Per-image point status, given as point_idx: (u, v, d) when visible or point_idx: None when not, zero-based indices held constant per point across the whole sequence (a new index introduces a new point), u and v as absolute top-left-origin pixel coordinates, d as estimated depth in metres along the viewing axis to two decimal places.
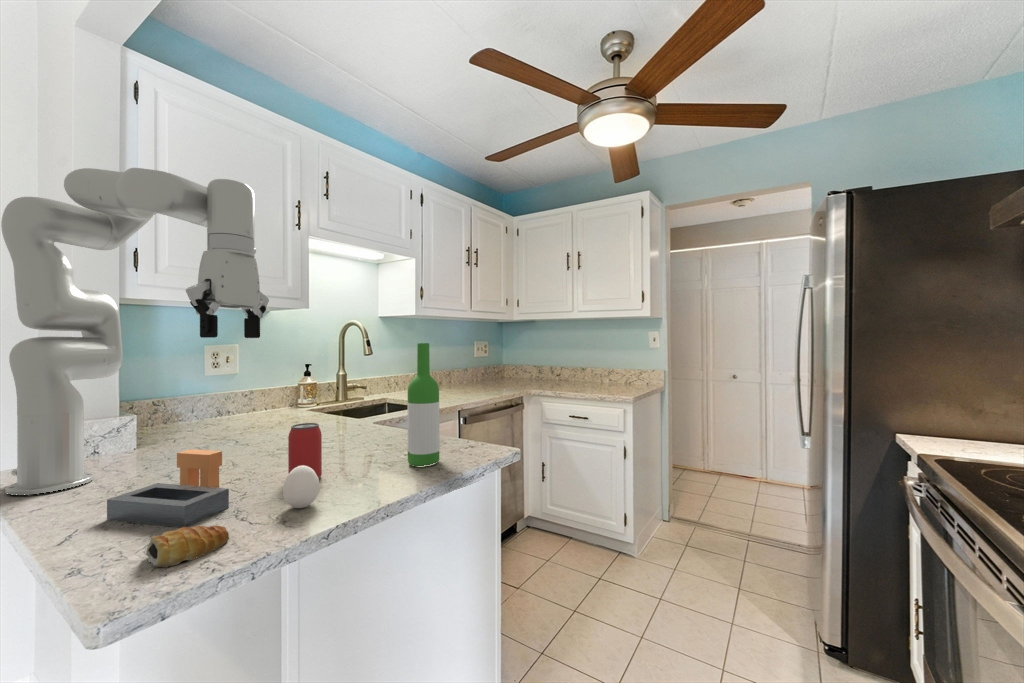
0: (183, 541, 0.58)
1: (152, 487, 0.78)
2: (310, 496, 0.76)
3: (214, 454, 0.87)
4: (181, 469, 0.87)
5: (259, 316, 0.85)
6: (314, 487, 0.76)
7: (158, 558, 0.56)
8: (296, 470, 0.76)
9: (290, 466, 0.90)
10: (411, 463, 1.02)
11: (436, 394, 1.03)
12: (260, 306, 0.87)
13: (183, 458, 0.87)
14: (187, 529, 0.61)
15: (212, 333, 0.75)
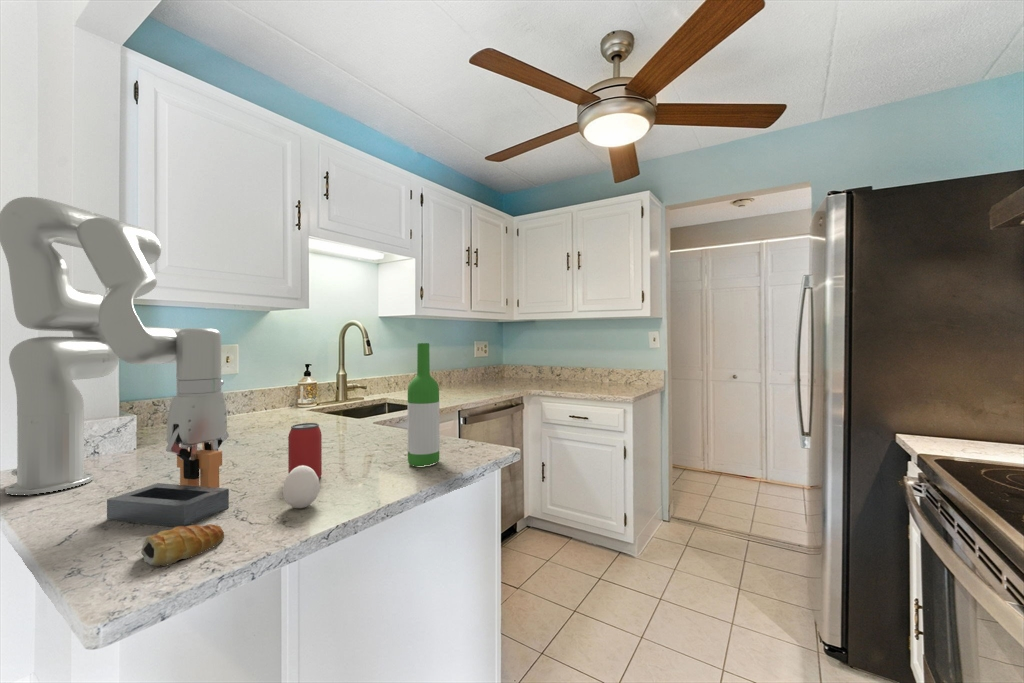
0: (179, 539, 0.59)
1: (152, 487, 0.78)
2: (310, 496, 0.76)
3: (214, 454, 0.87)
4: (181, 469, 0.87)
5: None
6: (314, 487, 0.76)
7: (155, 557, 0.56)
8: (296, 470, 0.76)
9: (290, 466, 0.90)
10: (411, 463, 1.02)
11: (436, 394, 1.03)
12: None
13: None
14: (183, 528, 0.61)
15: (194, 475, 0.85)
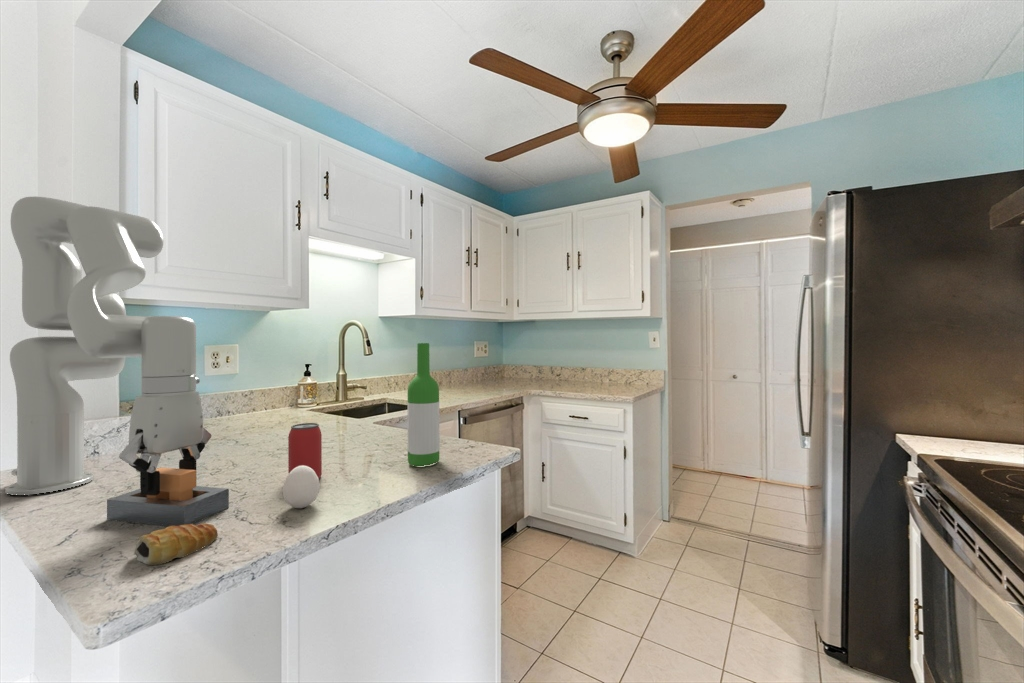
0: (174, 538, 0.59)
1: None
2: (310, 496, 0.76)
3: (186, 474, 0.73)
4: None
5: (195, 457, 0.78)
6: (314, 487, 0.76)
7: (150, 556, 0.57)
8: (296, 470, 0.76)
9: (290, 466, 0.90)
10: (411, 463, 1.02)
11: (436, 394, 1.03)
12: (198, 444, 0.79)
13: None
14: (177, 528, 0.61)
15: (153, 491, 0.71)
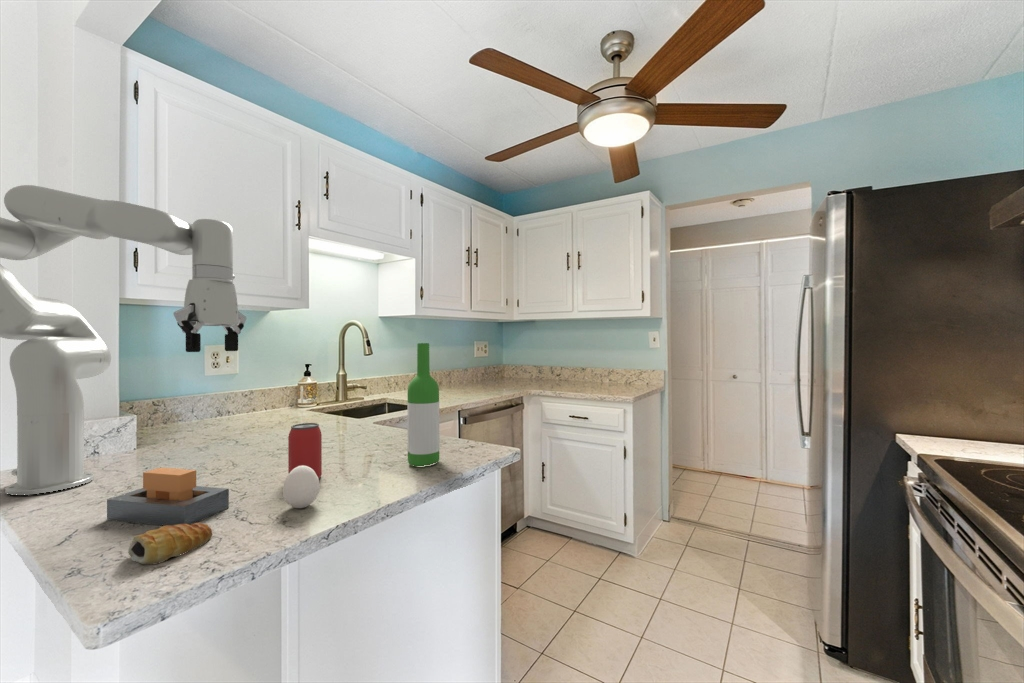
0: (169, 538, 0.59)
1: None
2: (310, 496, 0.76)
3: (186, 474, 0.73)
4: (148, 491, 0.74)
5: (237, 332, 1.00)
6: (314, 487, 0.76)
7: (146, 555, 0.57)
8: (296, 470, 0.76)
9: (290, 466, 0.90)
10: (411, 463, 1.02)
11: (436, 394, 1.03)
12: (238, 324, 1.02)
13: (149, 479, 0.74)
14: (171, 527, 0.61)
15: (196, 348, 0.90)
